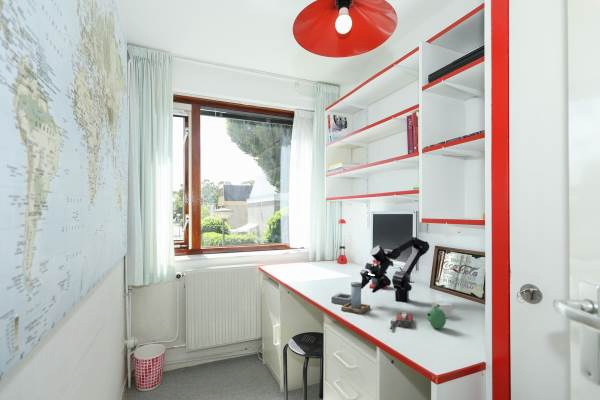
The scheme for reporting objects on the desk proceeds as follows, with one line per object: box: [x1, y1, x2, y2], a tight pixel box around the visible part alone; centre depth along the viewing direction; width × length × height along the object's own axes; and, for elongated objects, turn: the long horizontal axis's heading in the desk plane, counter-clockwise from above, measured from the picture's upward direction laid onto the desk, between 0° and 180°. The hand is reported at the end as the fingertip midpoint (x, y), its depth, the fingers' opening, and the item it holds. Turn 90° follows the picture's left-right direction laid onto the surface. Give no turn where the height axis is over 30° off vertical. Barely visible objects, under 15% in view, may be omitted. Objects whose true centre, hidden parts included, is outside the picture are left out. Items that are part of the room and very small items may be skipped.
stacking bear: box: [369, 259, 388, 290], centre depth 211 cm, size 11×10×18 cm
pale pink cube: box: [431, 300, 452, 318], centre depth 155 cm, size 6×6×6 cm
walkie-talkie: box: [389, 311, 413, 331], centre depth 142 cm, size 9×4×20 cm
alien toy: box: [426, 304, 447, 330], centre depth 139 cm, size 7×8×10 cm
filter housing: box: [331, 292, 351, 306], centre depth 177 cm, size 10×10×3 cm
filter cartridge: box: [350, 281, 362, 309], centre depth 164 cm, size 5×5×12 cm
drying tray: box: [340, 302, 371, 315], centre depth 163 cm, size 11×11×2 cm
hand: (366, 290), depth 167 cm, fingers open, 9 cm apart
